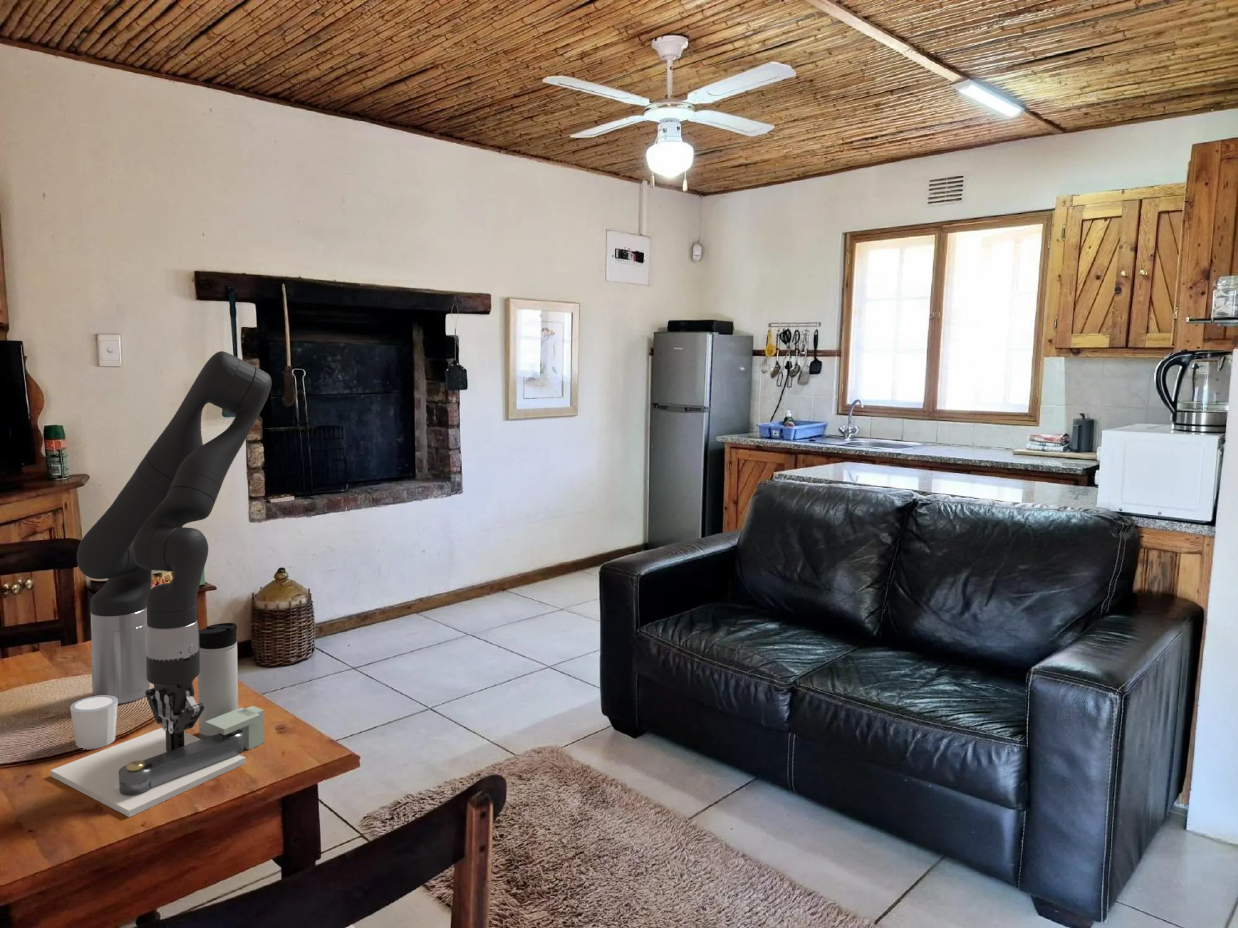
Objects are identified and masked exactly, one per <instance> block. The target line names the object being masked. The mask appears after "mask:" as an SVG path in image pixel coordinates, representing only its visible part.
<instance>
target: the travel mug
mask: <svg viewBox="0 0 1238 928" xmlns="http://www.w3.org/2000/svg"><path fill="white" fill-rule="evenodd" d="M237 630H238V625H237V623H235V622H221V623H215V624H211V625H207V626H206V627H205V628H202V629H199V647H200V673H199V675H198V676H197V687H198V688H197V692H198V696H197V697H198V700H197V701H198V702H197V704H199V703H203V705H204V710H203V712H202V713H201V715H200V717H199V718H198V738H200V739H205V738H207V737H210V736H213V735H216V734H219V733H218V732H215V731H213V730H210V729H208V728H205V722H206V721H208V720H211V719H213V718H216V717H218V716H221V715H223V714H226V713H228V712H231V711H233V710H236V709H238V708H239V687H238V686H239V685H238V683H239V682H238V681H239V679H238V678H239V677H238V637H237V635H238V634H237Z"/></svg>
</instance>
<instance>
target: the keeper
mask: <svg viewBox="0 0 1238 928" xmlns="http://www.w3.org/2000/svg"><path fill="white" fill-rule="evenodd" d="M205 728H208V729H210V730H213V731H215V732H218V733H220V734H223V735H226V734H228V733H231V732H233V731H236V730H238V729H239V730H242V731H243V749H246V750H251V749H254V748H257V747H258V746H261V745H262V744H263V745H264V744H265V710H264V709H262V708H260V707H257V706H254V705H251V706H249V707H245V708H243V707H238V709H236V710H233V711H231V712H228V713H226V714H223V715H221V716H218V717H216V718H213V719H211V720H208V721H206V722H205Z"/></svg>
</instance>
